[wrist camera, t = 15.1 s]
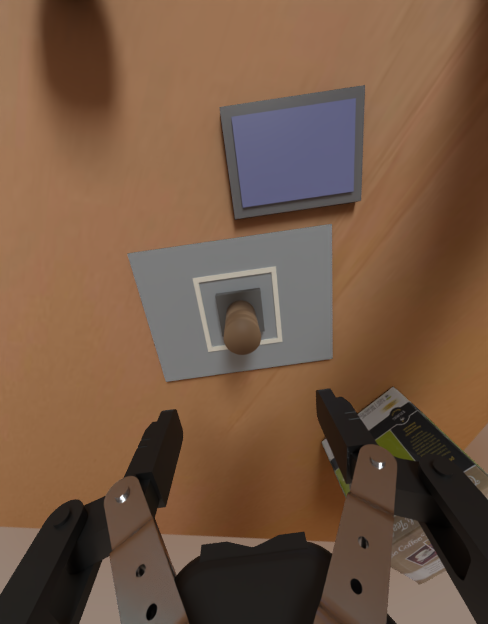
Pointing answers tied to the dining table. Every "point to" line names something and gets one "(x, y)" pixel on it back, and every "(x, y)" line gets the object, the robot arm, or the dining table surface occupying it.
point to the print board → (232, 277)
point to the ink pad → (295, 151)
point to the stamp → (241, 319)
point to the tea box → (412, 446)
